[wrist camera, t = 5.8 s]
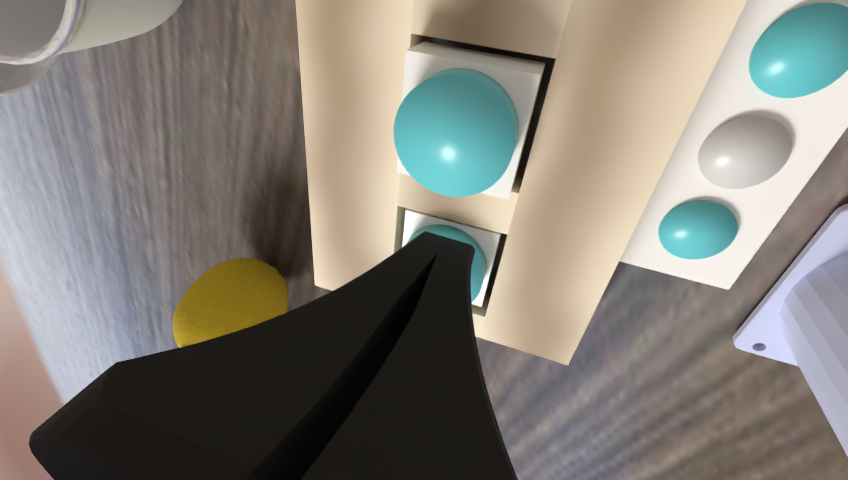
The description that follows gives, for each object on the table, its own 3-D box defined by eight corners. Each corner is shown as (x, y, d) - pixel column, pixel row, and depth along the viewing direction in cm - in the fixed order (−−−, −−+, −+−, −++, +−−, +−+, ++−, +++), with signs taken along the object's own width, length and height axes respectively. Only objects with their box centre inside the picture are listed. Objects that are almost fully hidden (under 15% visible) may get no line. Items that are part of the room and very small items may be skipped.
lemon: (229, 231, 27) (122, 310, 21) (300, 240, 26) (208, 330, 19) (253, 294, 30) (166, 381, 24) (318, 306, 29) (243, 402, 22)
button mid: (545, 62, 14) (537, 83, 11) (515, 177, 17) (503, 215, 14) (424, 41, 15) (391, 56, 12) (413, 153, 17) (384, 185, 15)
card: (950, -30, 12) (966, -29, 11) (726, 284, 19) (729, 292, 18) (757, -51, 13) (764, -52, 12) (612, 254, 20) (613, 262, 19)
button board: (855, -309, 10) (943, -397, 7) (569, 323, 23) (567, 365, 20) (329, -309, 12) (270, -374, 10) (340, 255, 25) (314, 285, 23)
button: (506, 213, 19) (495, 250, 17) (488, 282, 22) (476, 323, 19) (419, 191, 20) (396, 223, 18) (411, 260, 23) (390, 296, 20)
